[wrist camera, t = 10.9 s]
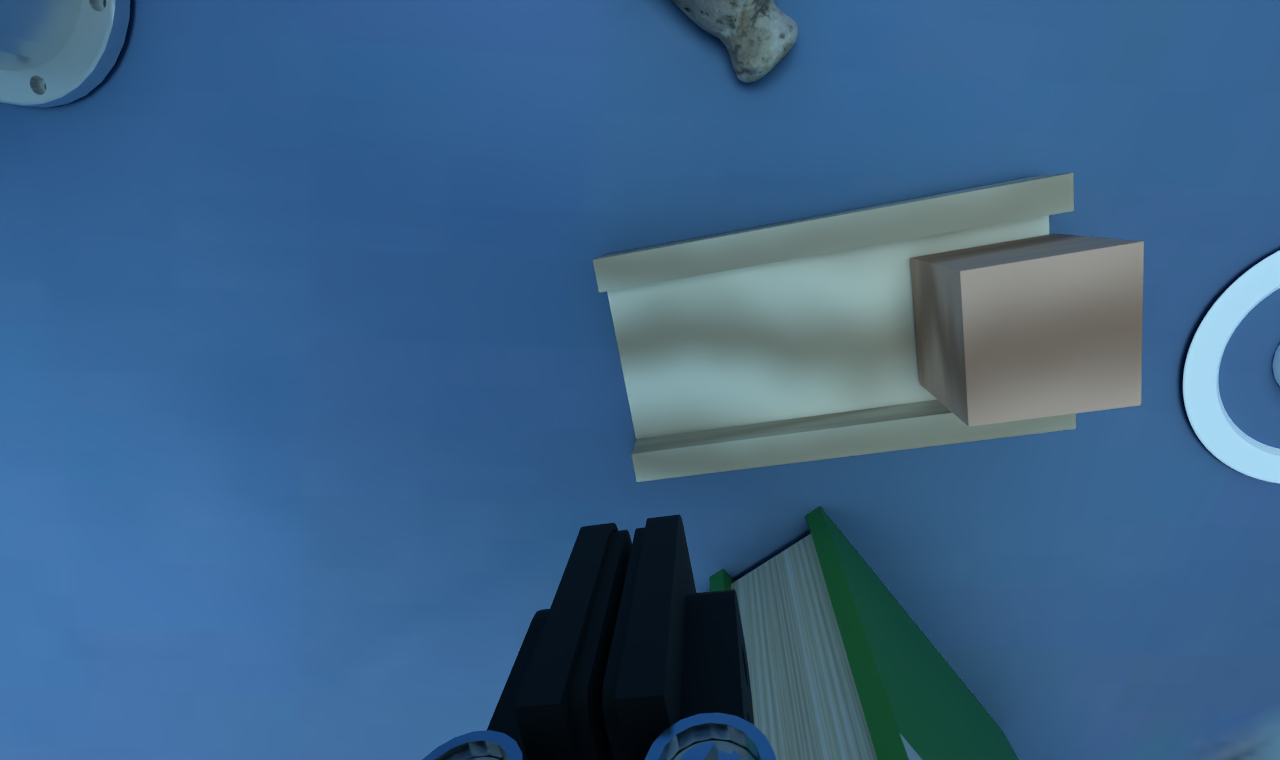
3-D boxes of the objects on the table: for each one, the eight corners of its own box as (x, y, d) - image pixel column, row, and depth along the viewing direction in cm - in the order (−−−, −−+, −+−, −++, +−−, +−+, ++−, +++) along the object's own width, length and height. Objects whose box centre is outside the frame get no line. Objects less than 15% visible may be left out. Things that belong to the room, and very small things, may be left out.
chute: (603, 254, 31) (592, 259, 28) (1036, 176, 28) (1073, 172, 25) (643, 458, 34) (636, 482, 31) (1042, 407, 31) (1075, 428, 28)
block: (910, 257, 28) (960, 271, 23) (1053, 233, 27) (1143, 241, 22) (919, 383, 30) (968, 426, 24) (1056, 365, 29) (1140, 405, 23)
